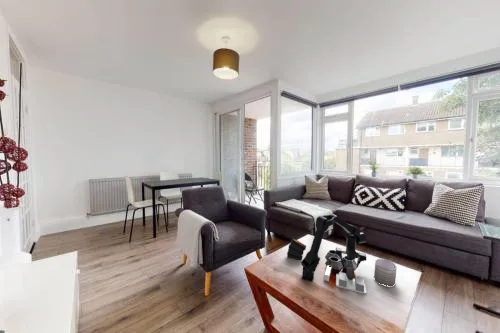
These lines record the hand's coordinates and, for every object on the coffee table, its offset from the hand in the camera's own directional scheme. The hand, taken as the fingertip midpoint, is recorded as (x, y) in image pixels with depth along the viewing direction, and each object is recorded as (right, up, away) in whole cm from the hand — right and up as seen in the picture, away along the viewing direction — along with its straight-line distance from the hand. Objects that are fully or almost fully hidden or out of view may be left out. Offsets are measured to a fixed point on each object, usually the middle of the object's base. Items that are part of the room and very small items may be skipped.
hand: (349, 265), depth 139 cm
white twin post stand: (-7, -4, -15) cm, 17 cm away
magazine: (-34, -1, +13) cm, 36 cm away
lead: (-2, -2, -5) cm, 6 cm away
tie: (-18, -3, -7) cm, 19 cm away
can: (+17, -5, -11) cm, 21 cm away
